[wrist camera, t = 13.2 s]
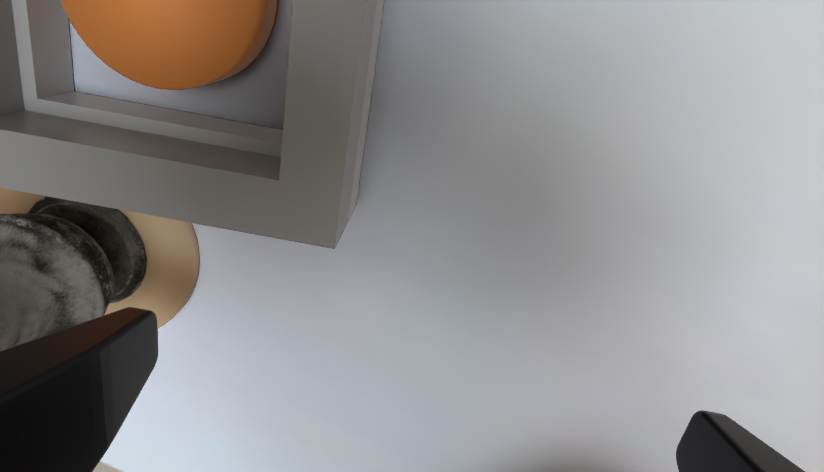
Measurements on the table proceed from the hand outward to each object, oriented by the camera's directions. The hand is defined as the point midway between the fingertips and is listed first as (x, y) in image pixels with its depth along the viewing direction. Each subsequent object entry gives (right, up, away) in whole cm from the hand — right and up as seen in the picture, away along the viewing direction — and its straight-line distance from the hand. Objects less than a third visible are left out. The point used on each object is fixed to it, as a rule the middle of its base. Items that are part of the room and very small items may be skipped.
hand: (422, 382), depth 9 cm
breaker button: (-8, +11, +10) cm, 17 cm away
